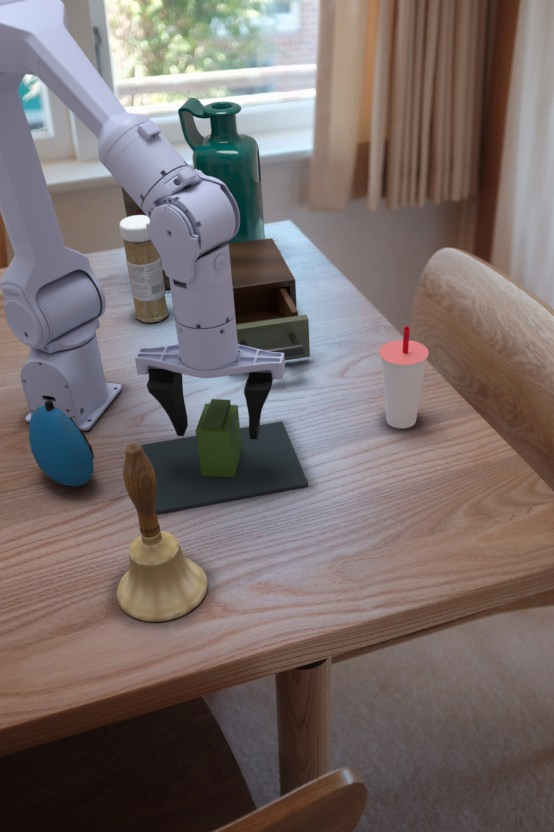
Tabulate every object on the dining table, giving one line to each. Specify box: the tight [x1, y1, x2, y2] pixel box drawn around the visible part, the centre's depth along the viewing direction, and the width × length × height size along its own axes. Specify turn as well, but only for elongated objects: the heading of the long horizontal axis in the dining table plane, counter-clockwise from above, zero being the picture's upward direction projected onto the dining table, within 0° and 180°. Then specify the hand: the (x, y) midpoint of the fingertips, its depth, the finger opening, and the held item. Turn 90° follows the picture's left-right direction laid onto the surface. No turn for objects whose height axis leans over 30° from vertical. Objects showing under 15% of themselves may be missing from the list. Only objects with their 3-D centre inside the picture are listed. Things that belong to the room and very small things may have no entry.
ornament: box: [28, 400, 95, 487], centre depth 93 cm, size 8×5×10 cm, turn 53°
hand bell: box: [116, 442, 209, 623], centre depth 78 cm, size 8×8×16 cm
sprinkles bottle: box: [119, 215, 169, 324], centre depth 120 cm, size 5×5×13 cm
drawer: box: [233, 287, 311, 362], centre depth 114 cm, size 17×10×5 cm, turn 16°
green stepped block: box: [195, 398, 242, 478], centre depth 95 cm, size 5×4×6 cm
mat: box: [140, 421, 309, 515], centre depth 97 cm, size 12×16×1 cm
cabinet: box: [229, 237, 298, 310], centre depth 122 cm, size 14×12×7 cm
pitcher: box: [177, 97, 266, 244], centre depth 132 cm, size 10×8×22 cm
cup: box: [378, 325, 430, 430], centre depth 100 cm, size 5×5×12 cm
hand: (218, 432), depth 95 cm, fingers open, 7 cm apart
